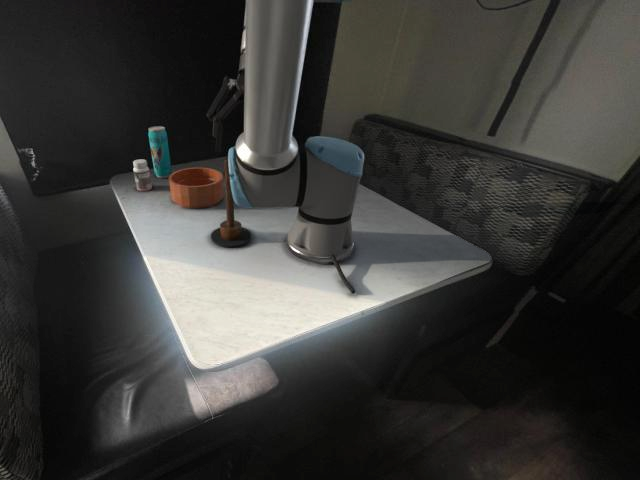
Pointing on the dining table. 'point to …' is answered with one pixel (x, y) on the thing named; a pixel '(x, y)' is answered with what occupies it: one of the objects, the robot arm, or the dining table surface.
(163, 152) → the beverage can
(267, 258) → the dining table surface
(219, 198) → the bowl
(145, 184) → the pill bottle
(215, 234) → the disc
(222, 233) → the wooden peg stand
